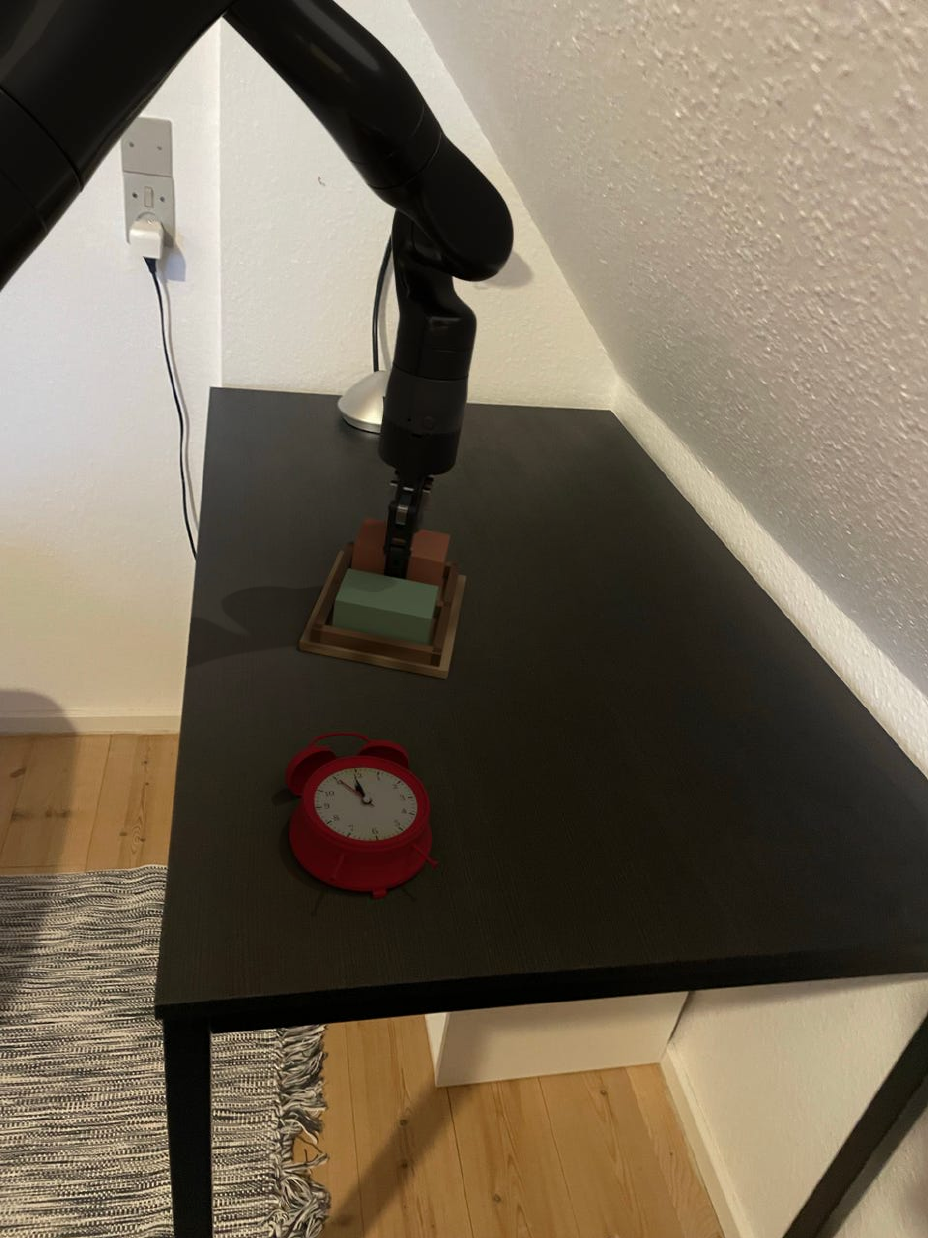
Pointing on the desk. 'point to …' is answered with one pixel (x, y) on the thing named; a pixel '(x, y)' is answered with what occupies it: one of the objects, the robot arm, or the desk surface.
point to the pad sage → (385, 606)
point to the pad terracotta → (422, 562)
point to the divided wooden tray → (383, 649)
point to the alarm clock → (359, 816)
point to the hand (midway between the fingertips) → (398, 567)
